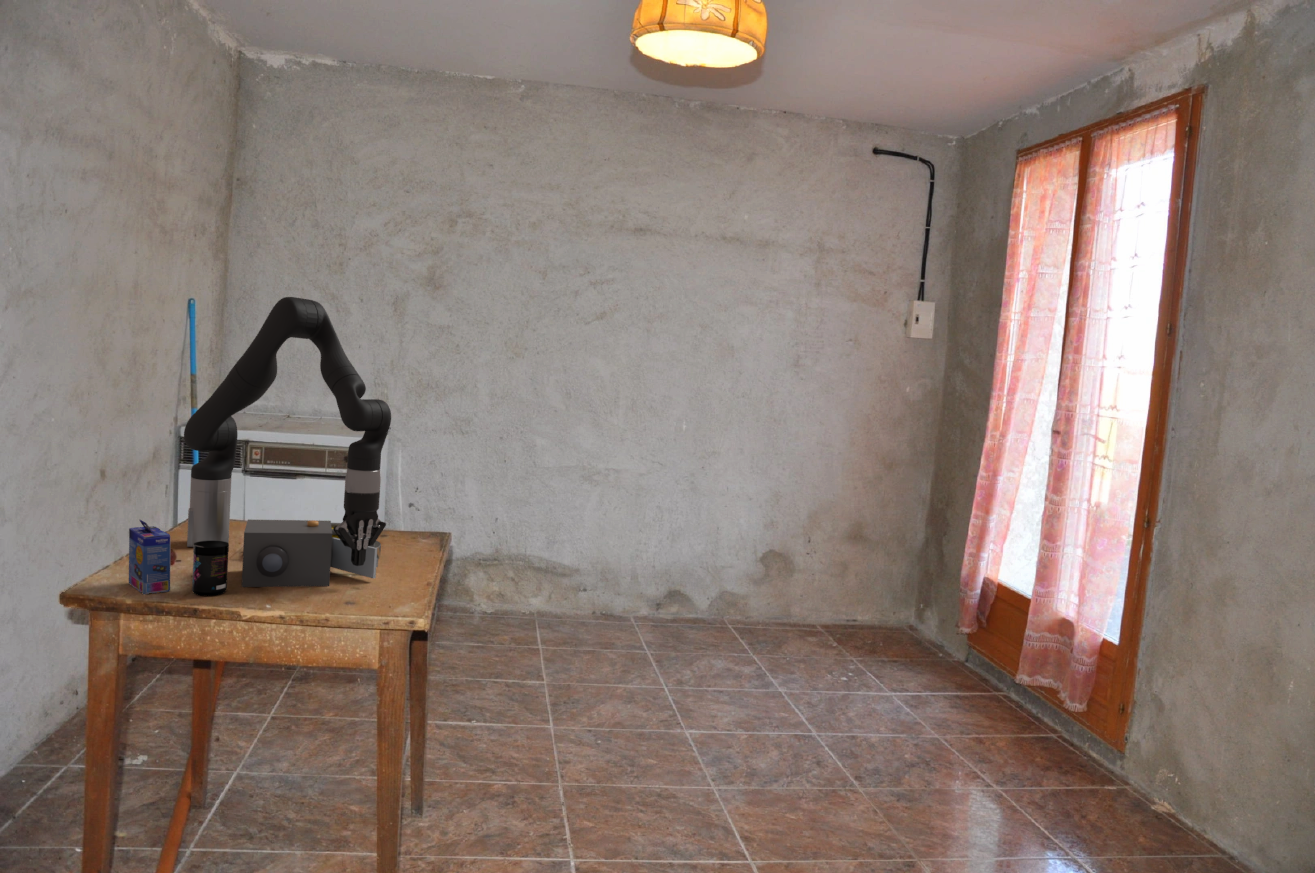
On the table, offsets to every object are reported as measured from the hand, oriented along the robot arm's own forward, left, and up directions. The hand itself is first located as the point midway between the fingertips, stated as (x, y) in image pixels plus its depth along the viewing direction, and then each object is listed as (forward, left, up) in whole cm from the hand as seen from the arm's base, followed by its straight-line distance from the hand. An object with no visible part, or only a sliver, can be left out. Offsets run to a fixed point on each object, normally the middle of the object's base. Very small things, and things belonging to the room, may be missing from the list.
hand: (357, 564), depth 211 cm
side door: (0, +10, -4) cm, 11 cm away
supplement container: (-30, -3, -5) cm, 30 cm away
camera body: (-15, +7, -5) cm, 17 cm away
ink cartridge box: (-42, +1, -6) cm, 42 cm away
